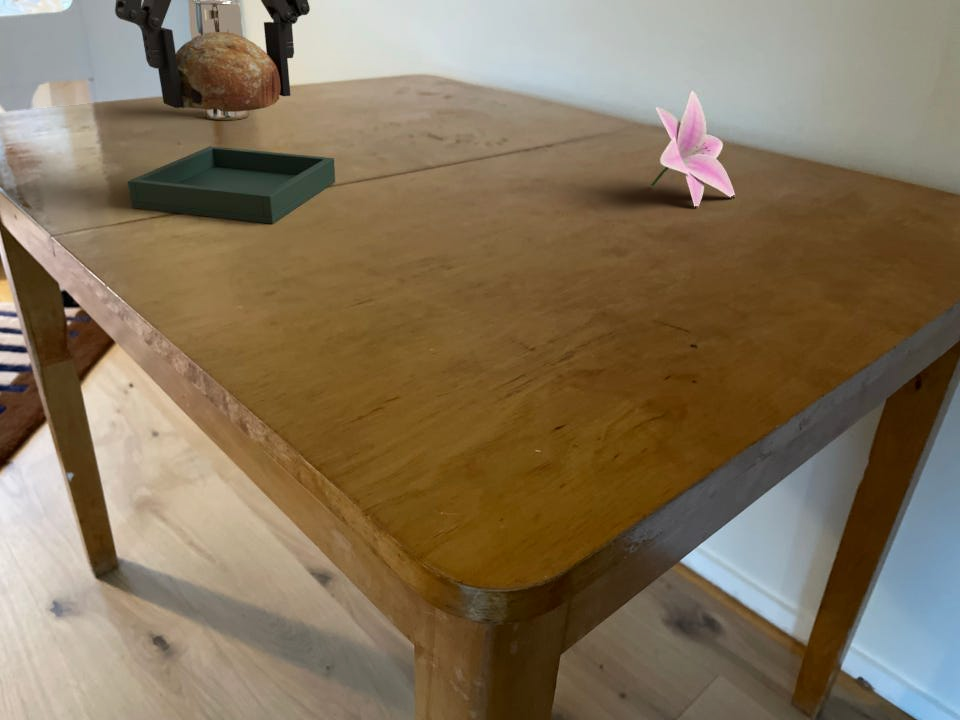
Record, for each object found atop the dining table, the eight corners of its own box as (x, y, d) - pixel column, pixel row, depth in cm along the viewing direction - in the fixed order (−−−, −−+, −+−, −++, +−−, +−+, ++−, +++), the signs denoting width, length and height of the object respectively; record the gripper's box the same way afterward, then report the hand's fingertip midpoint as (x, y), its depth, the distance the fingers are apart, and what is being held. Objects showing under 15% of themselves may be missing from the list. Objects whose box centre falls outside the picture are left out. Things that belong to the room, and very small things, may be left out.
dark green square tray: (131, 207, 74) (126, 181, 73) (212, 169, 87) (209, 145, 86) (272, 224, 71) (270, 196, 70) (335, 182, 84) (334, 157, 83)
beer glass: (231, 109, 115) (218, -3, 108) (262, 116, 112) (251, 1, 105) (191, 116, 110) (175, -1, 103) (223, 123, 107) (208, 3, 100)
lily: (632, 219, 79) (691, 144, 73) (598, 148, 86) (649, 74, 80) (718, 243, 85) (780, 175, 78) (679, 174, 92) (733, 106, 85)
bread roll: (170, 140, 75) (130, 65, 69) (225, 78, 81) (192, 4, 75) (256, 152, 72) (222, 75, 66) (307, 87, 78) (280, 10, 71)
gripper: (62, -204, 55) (122, 119, 65) (338, -170, 68) (351, 94, 79) (31, -194, 60) (92, 105, 70) (295, -165, 73) (312, 83, 84)
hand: (229, 99), depth 75 cm, fingers closed on bread roll, 10 cm apart
